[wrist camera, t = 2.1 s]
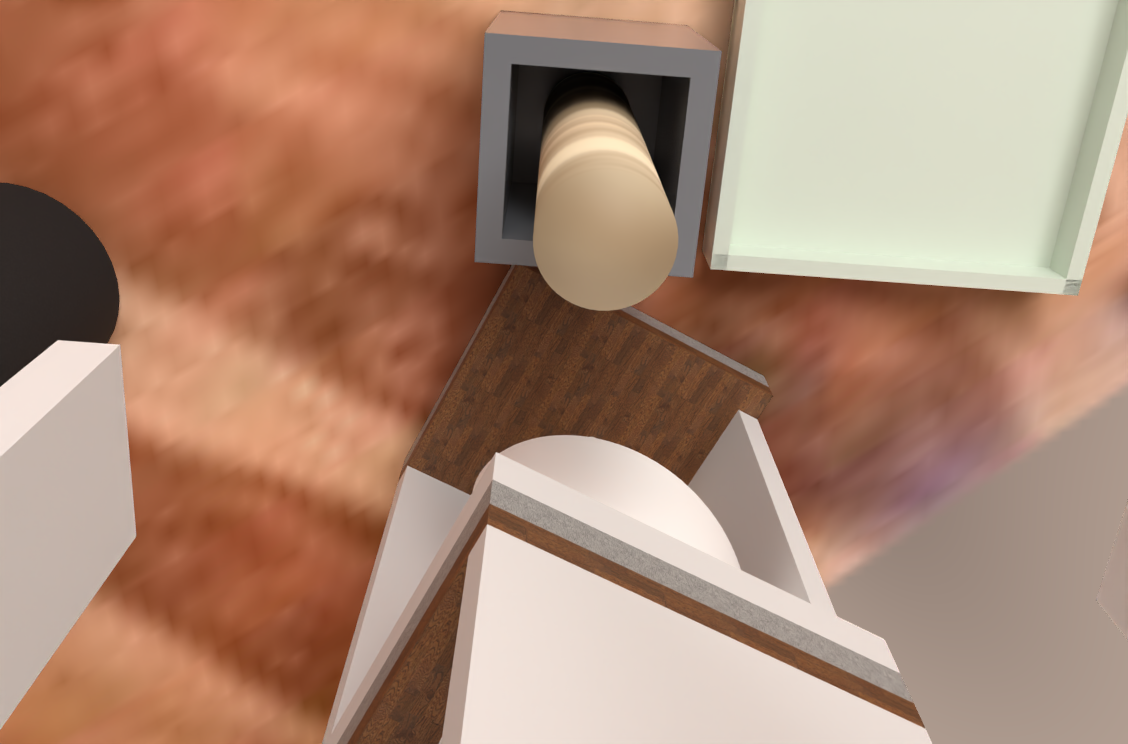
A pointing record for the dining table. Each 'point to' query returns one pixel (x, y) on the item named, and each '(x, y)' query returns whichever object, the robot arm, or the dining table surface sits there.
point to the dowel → (599, 200)
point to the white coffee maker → (603, 557)
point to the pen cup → (654, 91)
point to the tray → (918, 140)
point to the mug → (49, 279)
